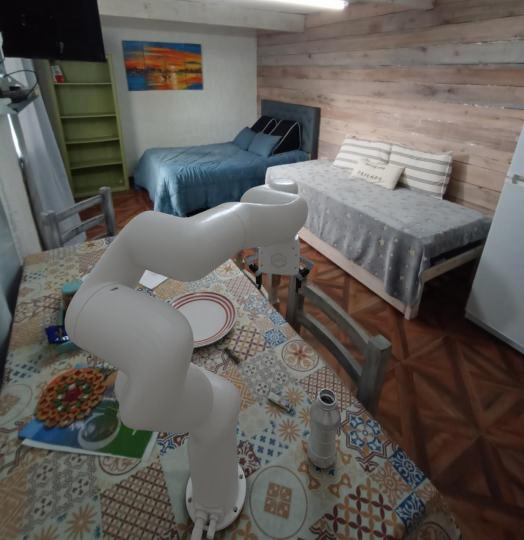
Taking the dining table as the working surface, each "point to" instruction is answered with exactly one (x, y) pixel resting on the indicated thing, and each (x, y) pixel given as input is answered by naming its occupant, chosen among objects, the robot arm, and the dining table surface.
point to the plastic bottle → (323, 429)
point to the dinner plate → (207, 315)
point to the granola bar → (279, 401)
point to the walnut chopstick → (232, 355)
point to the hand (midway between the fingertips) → (278, 287)
